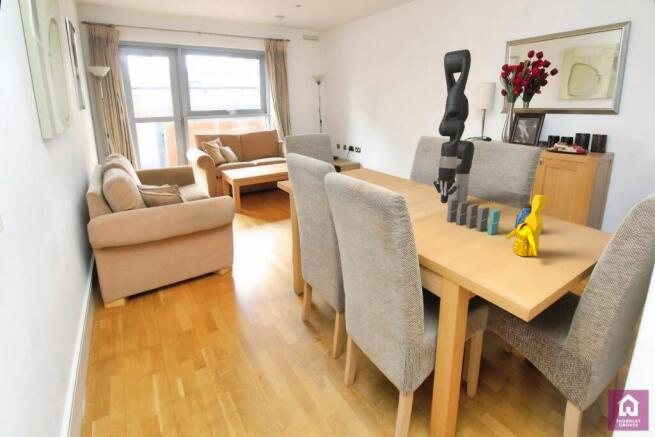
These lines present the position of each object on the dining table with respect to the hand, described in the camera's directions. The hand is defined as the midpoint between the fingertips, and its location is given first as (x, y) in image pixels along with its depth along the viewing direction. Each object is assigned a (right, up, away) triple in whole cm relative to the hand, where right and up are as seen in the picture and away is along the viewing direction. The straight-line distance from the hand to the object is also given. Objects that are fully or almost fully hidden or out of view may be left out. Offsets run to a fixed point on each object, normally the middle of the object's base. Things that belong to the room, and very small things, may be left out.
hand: (444, 202), depth 167 cm
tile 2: (+6, -10, -5) cm, 12 cm away
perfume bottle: (+29, -13, -15) cm, 35 cm away
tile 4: (+12, -12, -13) cm, 21 cm away
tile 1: (+3, -8, -1) cm, 9 cm away
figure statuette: (+18, -20, -36) cm, 45 cm away
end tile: (+15, -14, -16) cm, 26 cm away
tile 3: (+9, -11, -9) cm, 17 cm away
